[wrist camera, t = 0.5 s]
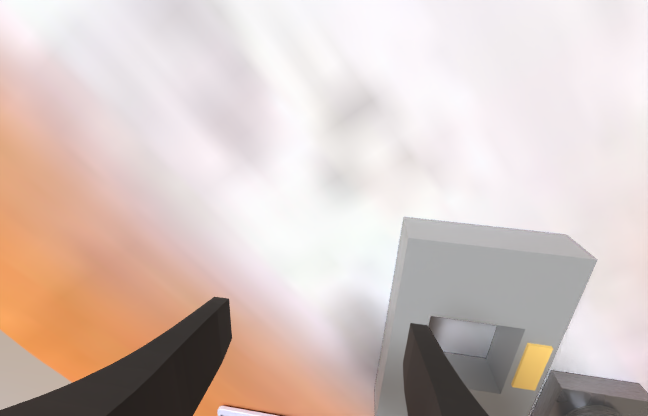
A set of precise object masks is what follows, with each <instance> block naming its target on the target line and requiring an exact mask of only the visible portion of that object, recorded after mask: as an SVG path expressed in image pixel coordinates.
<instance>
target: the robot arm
mask: <svg viewBox="0 0 648 416" xmlns="http://www.w3.org/2000/svg"><path fill="white" fill-rule="evenodd" d="M231 339H232V333H231V320H230V307H229V299H227V298H219V297H214V298H212V299H211V300H209V301H208V302H207V303H205V304H204V305H203V306H201V307H200V308H199V309H197V310H196V311H194V312H193V313H192V314H190V315H189V316H188V317H186V318H185V319H183V320H182V321H181V322H179V323H178V324H176V325H175V326H174V327H172V328H171V329H169V330H168V331H166V332H165V333H163V334H162V335H160V336H159V337H157V338H156V339H154V340H152V341H151V342H149V343H148V344H146V345H145V346H143V347H141V348H140V349H138V350H136V351H135V352H133V353H131V354H129V355H128V356H126V357H124V358H122V359H120V360H119V361H117V362H115V363H113V364H111V365H109V366H107V367H105V368H103V369H101V370H99V371H97V372H95V373H92V374H90V375H88V376H86V377H84V378H82V379H80V380H78V381H75V382H73V383H71V384H68V385H66V386H64V387H61V388H59V389H57V390H54V391H52V392H49V393H47V394H44V395H41V396H39V397H36V398H33V399H31V400H28V401H25V402H22V403H19V404H17V405H14V406H11V407H8V408H5V409H3V410H0V416H193V414H194V413H195V411H196V409H197V407H198V405H199V404H200V402H201V400H202V398H203V396H204V395H205V393H206V391H207V389H208V387H209V386H210V384H211V382H212V380H213V378H214V376H215V375H216V373H217V371H218V369H219V367H220V365H221V364H222V361H223V359H224V357H225V354H226V352H227V349H228V347H229V344H230V342H231ZM403 379H404V393H405V400H406V406H407V413H408V416H489V415H488V414H487V413H486V411H485V410H484V409H483V408H482V406H481V405H480V404H479V403H478V401H477V400H476V399H475V397H474V396H473V395H472V393H471V392H470V391H469V389H468V388H467V387H466V385H465V384H464V382H463V381H462V380H461V378H460V377H459V375H458V374H457V372H456V371H455V369H454V368H453V366H452V365H451V363H450V362H449V360H448V359H447V357H446V356H445V354H444V352H443V351H442V349H441V347H440V346H439V344H438V342H437V341H436V339H435V337H434V335H433V334H432V332H431V330H430V328H429V327H428V326H427V325H423V324H415V323H410V328H409V333H408V338H407V344H406V349H405V354H404V359H403ZM218 416H278V415H272V414H267V413H261V412H256V411H250V410H245V409H239V408H234V407H228V406H220V407H219V409H218Z"/></svg>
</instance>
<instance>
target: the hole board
mask: <svg viewBox="0 0 648 416" xmlns="http://www.w3.org/2000/svg"><path fill="white" fill-rule="evenodd" d="M596 262H597V259H596V258H595V257H594V256H592V255H591V254H590V253H589V252H587V251H586V250H585V249H584V248H582V247H581V246H580V245H579V244H578V243H576V242H575V241H574V240H573V239H571V238H570V237H569V236H568V235H565V234H555V233H546V232H537V231H528V230H519V229H509V228H500V227H491V226H482V225H473V224H464V223H454V222H445V221H436V220H427V219H418V218H409V217H404V218H403V224H402V230H401V236H400V241H399V247H398V253H397V259H396V265H395V271H394V277H393V283H392V289H391V295H390V301H389V307H388V313H387V318H386V324H385V330H384V336H383V342H382V348H381V354H380V360H379V366H378V372H377V378H376V384H375V390H374V401H375V416H408V413H407V406H406V400H405V393H404V379H403V359H404V354H405V349H406V344H407V338H408V333H409V328H410V323H415V324H423V325H427V326H429V322H430V317H431V316H435V317H442V318H449V319H456V320H463V321H470V322H478V323H485V324H492V325H497V328H496V331H495V334H494V337H493V340H492V343H491V346H490V349H489V352H488V355H487V358H480V357H473V356H466V355H460V354H453V353H447V352H444V354H445V356H446V357H447V359H448V360H449V362H450V363H451V365H452V366H453V368H454V369H455V371H456V372H457V374H458V375H459V377H460V378H461V380H462V381H463V382H464V384H465V385H466V387H467V388H468V389H469V391H470V392H471V393H472V395H473V396H474V397H475V399H476V400H477V401H478V403H479V404H480V405H481V406H482V408H483V409H484V410H485V411H486V413H487V414H488V415H489V416H528V415H529V413H530V410H531V408H532V406H533V404H534V402H535V399H536V397H537V395H538V393H539V390H540V388H541V386H542V384H543V381H544V379H545V377H546V375H547V372H548V370H549V368H550V366H551V363H552V361H553V359H554V357H555V354H556V352H557V350H558V348H559V345H560V343H561V341H562V339H563V336H564V334H565V332H566V330H567V327H568V325H569V323H570V321H571V318H572V316H573V314H574V312H575V309H576V307H577V305H578V303H579V300H580V298H581V296H582V294H583V291H584V289H585V287H586V285H587V282H588V280H589V278H590V276H591V273H592V271H593V269H594V267H595V264H596Z"/></svg>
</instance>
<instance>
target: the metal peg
mask: <svg viewBox="0 0 648 416" xmlns="http://www.w3.org/2000/svg"><path fill="white" fill-rule="evenodd" d="M566 416H622V415H621V414H620V413H619V412H618V411H617V410H615V409H613V408H611V407H608V406H603V405H587V406H582V407H579V408H576V409H574V410H572V411H570V412H569V413H568V414H567V415H566Z"/></svg>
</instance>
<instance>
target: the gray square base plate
mask: <svg viewBox="0 0 648 416" xmlns="http://www.w3.org/2000/svg"><path fill="white" fill-rule="evenodd" d="M587 405H603V406H608V407H611V408H613V409H615V410H617V411H618V412H619V413H620V414H621V415H622V416H648V393H647V392H646V391H645V390H644V388H643V387H642V386H641V385H640V384H638V383H632V382H625V381H618V380H612V379H605V378H599V377H592V376H585V375H579V374H572V373H565V372H559V371H552V370H551V372H550V375H549V377H548V379H547V381H546V383H545V386H544V388H543V390H542V392H541V395H540V397H539V399H538V401H537V403H536V406H535V408H534V410H533V412H532V415H531V416H566V415H567V414H568V413H569V412H570V411H572V410H574V409H576V408H579V407H582V406H587Z"/></svg>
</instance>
